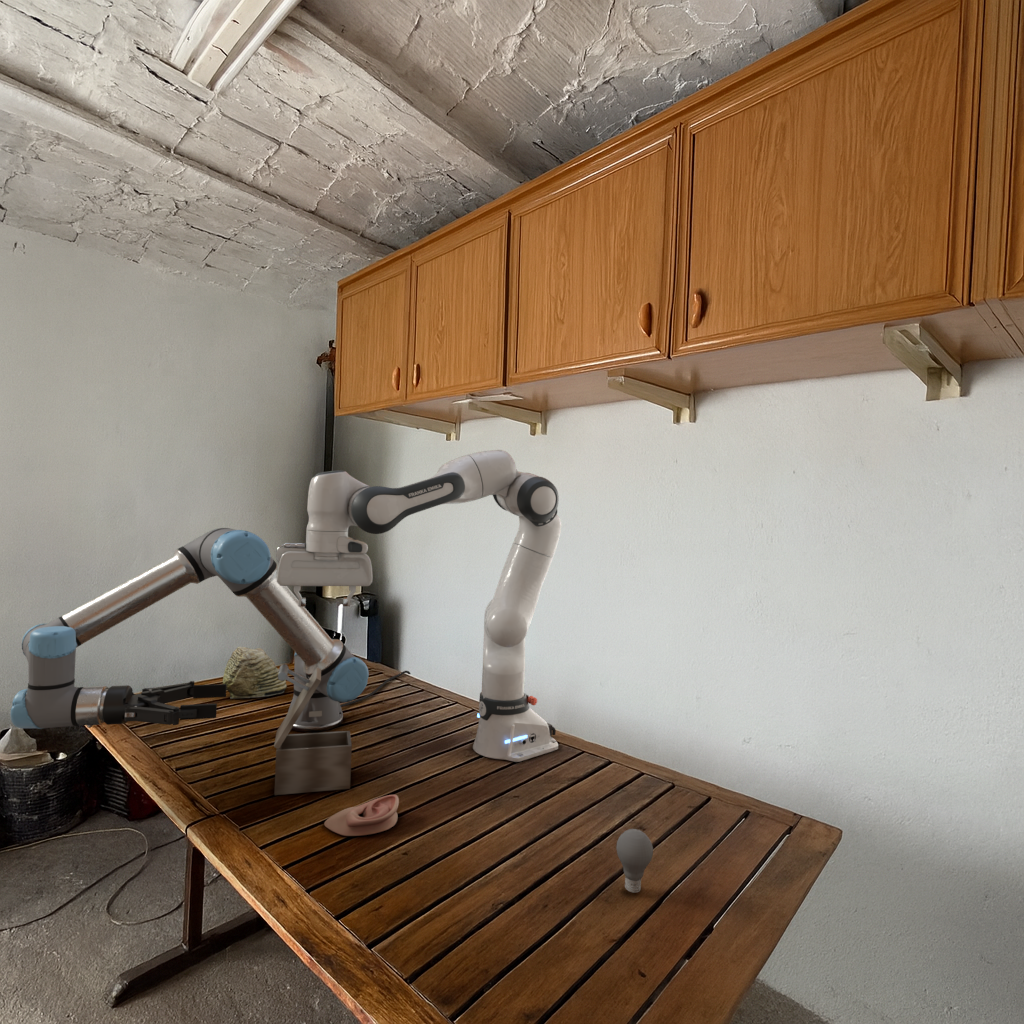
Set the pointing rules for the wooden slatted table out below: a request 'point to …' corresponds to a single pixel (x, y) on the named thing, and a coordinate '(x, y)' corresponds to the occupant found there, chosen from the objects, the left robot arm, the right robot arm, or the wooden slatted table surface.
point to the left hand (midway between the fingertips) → (221, 700)
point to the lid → (300, 701)
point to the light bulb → (634, 857)
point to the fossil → (252, 674)
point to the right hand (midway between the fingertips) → (324, 606)
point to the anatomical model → (365, 817)
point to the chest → (313, 763)
